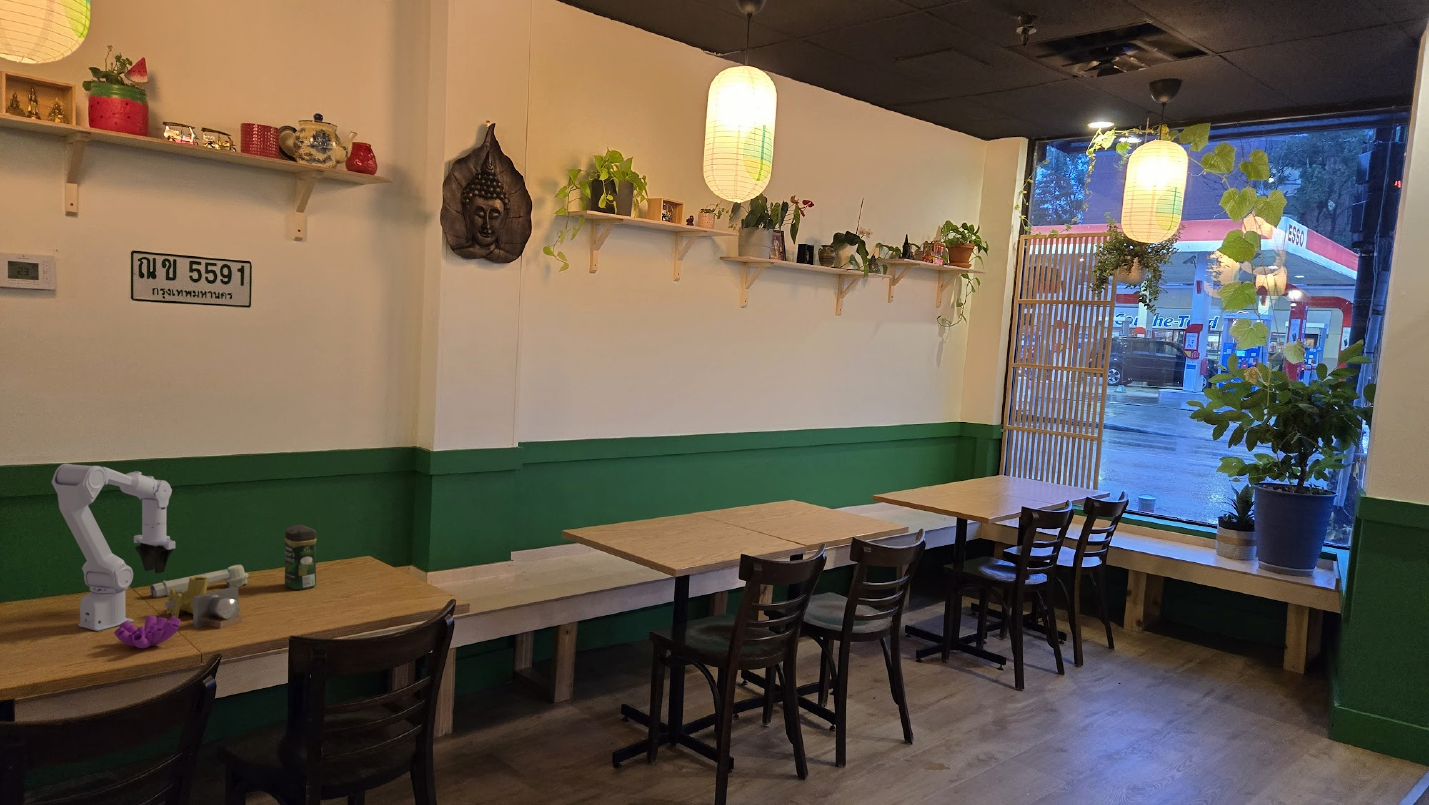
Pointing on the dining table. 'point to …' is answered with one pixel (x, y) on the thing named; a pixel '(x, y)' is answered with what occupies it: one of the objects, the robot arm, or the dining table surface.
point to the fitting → (217, 608)
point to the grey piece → (230, 576)
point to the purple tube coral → (147, 631)
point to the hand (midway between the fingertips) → (154, 571)
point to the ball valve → (186, 596)
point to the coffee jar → (300, 557)
